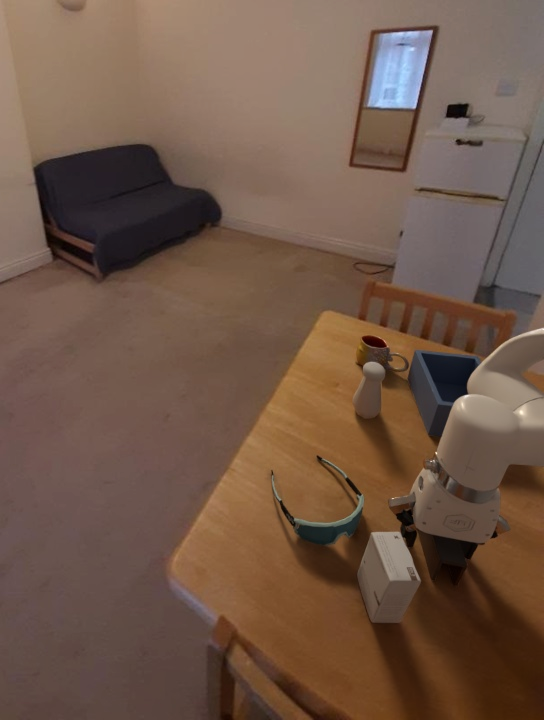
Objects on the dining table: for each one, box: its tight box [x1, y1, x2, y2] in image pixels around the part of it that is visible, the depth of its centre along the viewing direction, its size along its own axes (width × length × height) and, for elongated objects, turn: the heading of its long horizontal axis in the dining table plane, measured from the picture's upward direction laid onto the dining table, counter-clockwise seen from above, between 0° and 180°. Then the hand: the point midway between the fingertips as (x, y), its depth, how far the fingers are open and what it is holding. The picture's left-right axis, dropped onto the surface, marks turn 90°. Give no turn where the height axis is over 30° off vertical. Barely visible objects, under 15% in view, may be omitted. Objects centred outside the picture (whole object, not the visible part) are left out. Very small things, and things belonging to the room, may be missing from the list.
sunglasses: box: [270, 454, 365, 546], centre depth 72 cm, size 14×15×5 cm
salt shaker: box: [352, 362, 386, 420], centre depth 86 cm, size 6×6×13 cm
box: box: [406, 349, 483, 438], centre depth 87 cm, size 13×16×9 cm
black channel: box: [416, 529, 468, 587], centre depth 64 cm, size 4×10×6 cm, turn 168°
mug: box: [355, 334, 410, 373], centre depth 100 cm, size 12×7×7 cm, turn 45°
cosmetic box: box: [356, 531, 422, 624], centre depth 57 cm, size 6×4×12 cm
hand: (435, 543), depth 65 cm, fingers open, 7 cm apart
